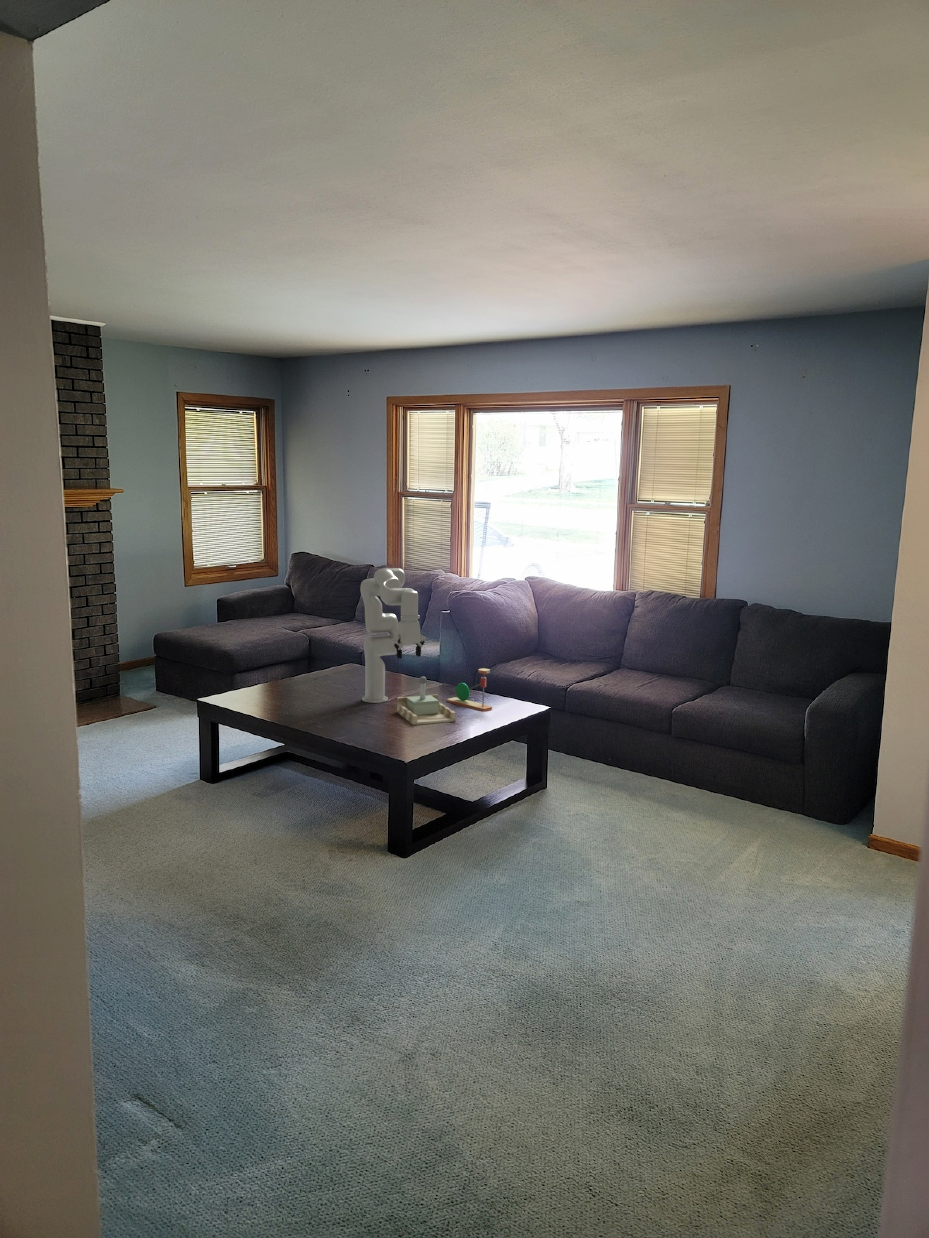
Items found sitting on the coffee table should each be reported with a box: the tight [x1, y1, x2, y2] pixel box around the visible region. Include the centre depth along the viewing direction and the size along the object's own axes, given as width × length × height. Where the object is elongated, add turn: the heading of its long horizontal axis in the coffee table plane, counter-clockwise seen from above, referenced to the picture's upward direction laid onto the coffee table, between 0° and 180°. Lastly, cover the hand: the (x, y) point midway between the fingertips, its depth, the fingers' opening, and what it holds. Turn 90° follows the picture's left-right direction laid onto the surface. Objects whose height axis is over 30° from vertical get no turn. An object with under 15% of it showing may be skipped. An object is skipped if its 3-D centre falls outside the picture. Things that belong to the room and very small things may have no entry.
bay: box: [396, 693, 457, 726], centre depth 403 cm, size 23×20×7 cm
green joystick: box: [406, 676, 440, 715], centre depth 406 cm, size 10×12×17 cm
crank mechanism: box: [446, 667, 493, 712], centre depth 424 cm, size 25×7×19 cm, turn 47°
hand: (408, 657), depth 388 cm, fingers open, 9 cm apart
